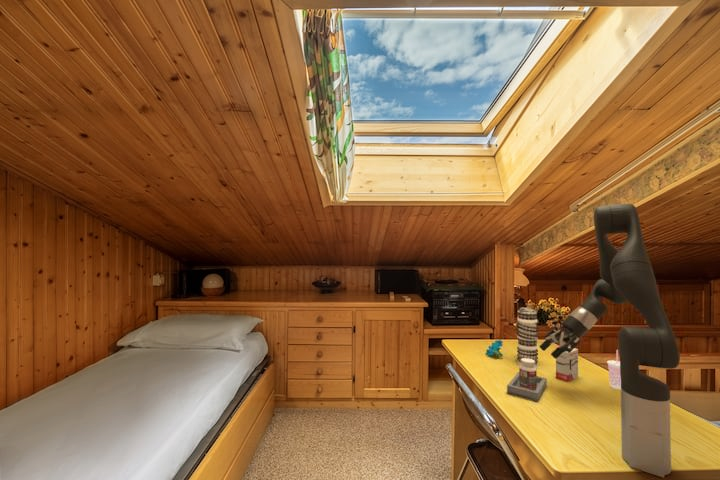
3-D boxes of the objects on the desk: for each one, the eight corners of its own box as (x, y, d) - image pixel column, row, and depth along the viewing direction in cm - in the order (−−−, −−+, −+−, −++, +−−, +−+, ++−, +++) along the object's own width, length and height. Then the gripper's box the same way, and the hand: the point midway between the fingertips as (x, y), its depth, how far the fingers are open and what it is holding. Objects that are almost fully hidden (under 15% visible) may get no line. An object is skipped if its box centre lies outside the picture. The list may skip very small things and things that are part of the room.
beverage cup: (623, 384, 125) (623, 348, 125) (631, 391, 119) (630, 353, 120) (604, 382, 127) (604, 346, 127) (610, 389, 122) (610, 351, 122)
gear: (483, 348, 165) (499, 335, 162) (492, 356, 164) (508, 344, 161) (486, 358, 154) (502, 345, 151) (495, 367, 153) (512, 354, 151)
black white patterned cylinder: (527, 359, 153) (527, 305, 154) (544, 366, 144) (543, 309, 145) (511, 361, 150) (511, 307, 151) (527, 368, 142) (527, 311, 142)
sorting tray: (538, 402, 112) (538, 393, 112) (507, 393, 118) (507, 385, 118) (546, 386, 124) (546, 378, 124) (518, 379, 130) (518, 371, 130)
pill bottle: (531, 391, 117) (531, 364, 117) (516, 386, 122) (516, 359, 122) (539, 387, 121) (539, 360, 121) (524, 382, 125) (524, 356, 125)
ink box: (568, 382, 127) (568, 352, 128) (555, 378, 132) (555, 348, 132) (578, 377, 132) (578, 348, 132) (565, 373, 136) (565, 345, 136)
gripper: (560, 310, 128) (530, 339, 128) (583, 319, 113) (549, 351, 114) (575, 324, 127) (544, 353, 128) (599, 334, 113) (565, 367, 113)
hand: (547, 352), depth 121 cm, fingers open, 8 cm apart
